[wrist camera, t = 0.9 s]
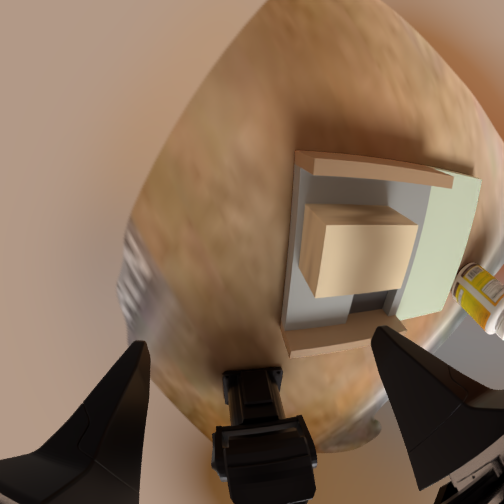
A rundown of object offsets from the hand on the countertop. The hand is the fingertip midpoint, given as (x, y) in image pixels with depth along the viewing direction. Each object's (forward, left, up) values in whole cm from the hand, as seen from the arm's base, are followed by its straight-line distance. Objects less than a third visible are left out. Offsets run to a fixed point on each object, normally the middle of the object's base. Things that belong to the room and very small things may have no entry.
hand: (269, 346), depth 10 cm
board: (-3, -14, -12) cm, 18 cm away
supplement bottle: (-8, -28, -12) cm, 32 cm away
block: (-1, -8, -11) cm, 13 cm away
